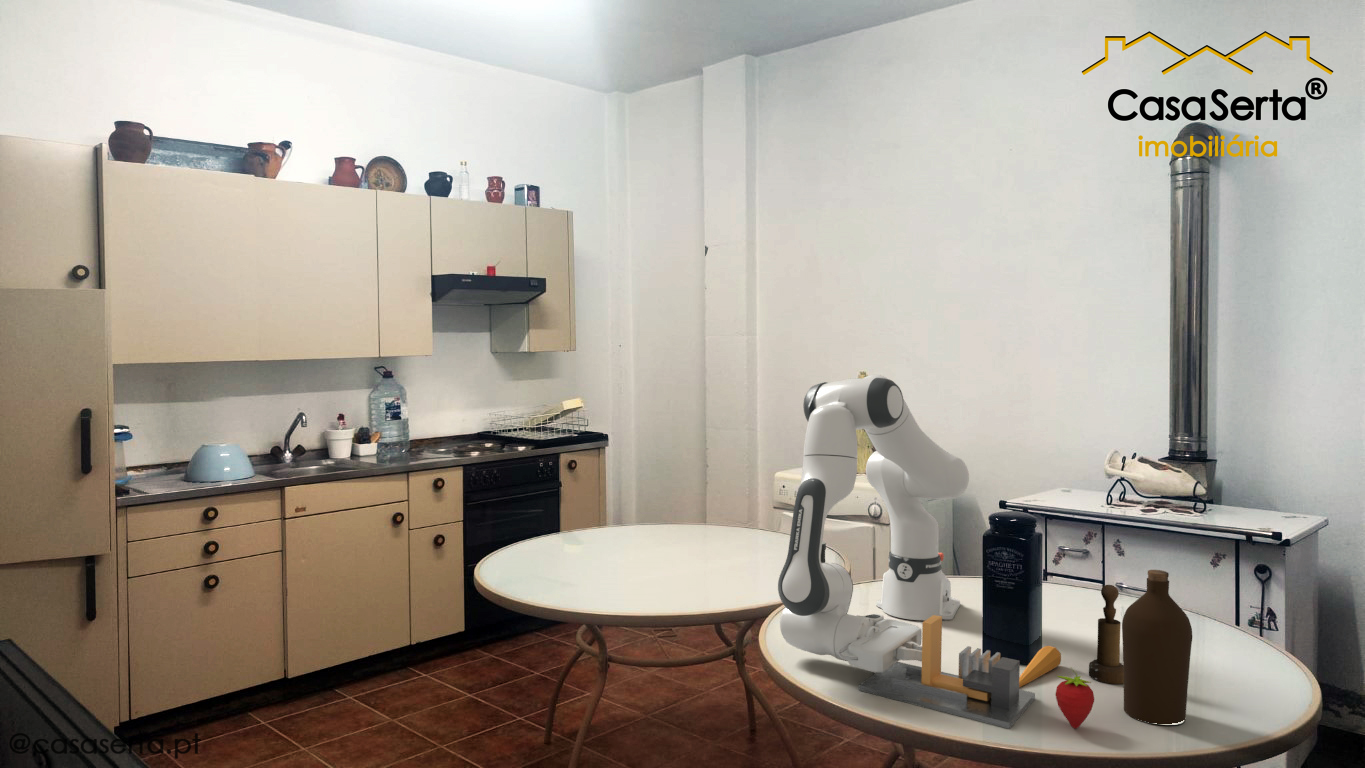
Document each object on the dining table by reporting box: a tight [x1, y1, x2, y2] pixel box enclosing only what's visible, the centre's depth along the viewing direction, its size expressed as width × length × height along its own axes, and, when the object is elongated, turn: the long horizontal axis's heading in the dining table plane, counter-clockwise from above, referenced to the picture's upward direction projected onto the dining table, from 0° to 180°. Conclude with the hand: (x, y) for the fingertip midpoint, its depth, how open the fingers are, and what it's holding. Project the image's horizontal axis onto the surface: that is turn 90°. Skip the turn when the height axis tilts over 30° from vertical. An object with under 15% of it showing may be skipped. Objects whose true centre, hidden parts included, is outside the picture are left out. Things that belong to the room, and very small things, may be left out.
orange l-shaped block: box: [921, 615, 992, 701], centre depth 157 cm, size 6×12×12 cm, turn 54°
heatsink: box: [858, 645, 1036, 729], centre depth 159 cm, size 16×27×8 cm, turn 54°
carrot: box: [1019, 645, 1062, 688], centre depth 168 cm, size 20×4×4 cm, turn 136°
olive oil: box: [1121, 569, 1193, 724], centre depth 150 cm, size 11×11×25 cm
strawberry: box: [1054, 666, 1095, 729], centre depth 145 cm, size 6×8×10 cm
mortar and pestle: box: [1088, 584, 1124, 685], centre depth 167 cm, size 7×6×18 cm
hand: (927, 655), depth 161 cm, fingers closed, pressing on orange l-shaped block
